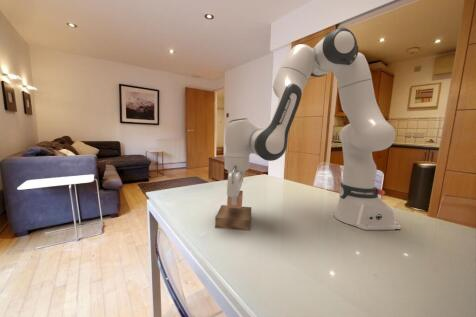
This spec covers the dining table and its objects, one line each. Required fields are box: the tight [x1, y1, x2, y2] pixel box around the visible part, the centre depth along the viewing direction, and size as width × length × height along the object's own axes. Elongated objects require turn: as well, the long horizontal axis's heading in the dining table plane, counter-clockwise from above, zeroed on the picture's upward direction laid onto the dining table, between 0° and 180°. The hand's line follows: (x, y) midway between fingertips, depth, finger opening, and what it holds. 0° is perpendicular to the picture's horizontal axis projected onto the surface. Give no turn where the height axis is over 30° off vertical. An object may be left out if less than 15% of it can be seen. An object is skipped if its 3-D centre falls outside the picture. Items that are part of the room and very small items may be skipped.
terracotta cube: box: [226, 190, 244, 209], centre depth 75 cm, size 5×5×5 cm
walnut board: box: [214, 204, 252, 231], centre depth 76 cm, size 12×12×4 cm
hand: (235, 201), depth 75 cm, fingers closed on terracotta cube, 5 cm apart
